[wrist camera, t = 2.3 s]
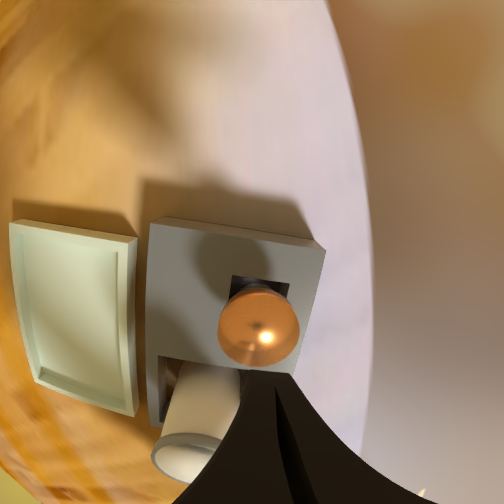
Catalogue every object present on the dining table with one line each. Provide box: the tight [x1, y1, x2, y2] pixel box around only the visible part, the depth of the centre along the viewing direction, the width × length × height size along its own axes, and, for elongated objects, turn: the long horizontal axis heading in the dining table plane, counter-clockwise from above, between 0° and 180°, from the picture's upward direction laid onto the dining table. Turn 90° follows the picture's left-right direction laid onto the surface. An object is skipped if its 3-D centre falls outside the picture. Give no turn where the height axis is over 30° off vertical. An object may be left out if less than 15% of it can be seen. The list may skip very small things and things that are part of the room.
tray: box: [9, 219, 140, 417], centre depth 17 cm, size 14×10×2 cm
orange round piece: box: [217, 283, 300, 367], centre depth 14 cm, size 4×4×4 cm
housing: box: [145, 216, 326, 429], centre depth 17 cm, size 15×9×2 cm, turn 170°
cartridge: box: [151, 361, 240, 484], centre depth 16 cm, size 5×5×8 cm
